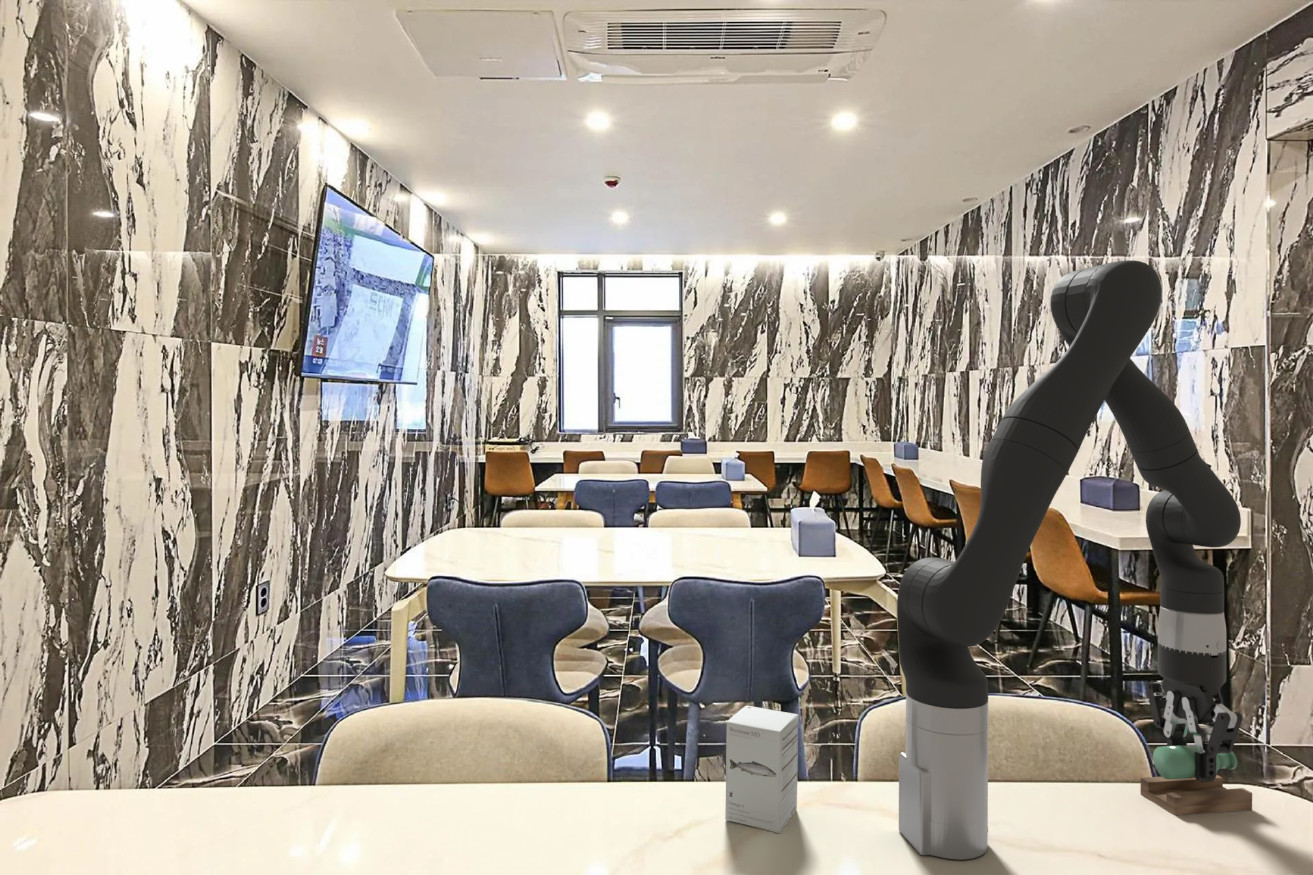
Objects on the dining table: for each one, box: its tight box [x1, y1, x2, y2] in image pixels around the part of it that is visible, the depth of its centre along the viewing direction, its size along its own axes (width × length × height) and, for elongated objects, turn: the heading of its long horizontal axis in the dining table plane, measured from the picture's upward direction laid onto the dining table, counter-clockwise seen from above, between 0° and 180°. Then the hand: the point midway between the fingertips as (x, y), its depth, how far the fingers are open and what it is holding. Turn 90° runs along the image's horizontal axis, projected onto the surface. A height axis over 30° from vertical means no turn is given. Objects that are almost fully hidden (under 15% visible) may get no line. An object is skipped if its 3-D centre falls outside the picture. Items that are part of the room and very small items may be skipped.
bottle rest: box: [1140, 774, 1253, 816], centre depth 107 cm, size 11×6×2 cm, turn 98°
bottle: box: [1152, 744, 1238, 780], centre depth 107 cm, size 9×4×4 cm, turn 97°
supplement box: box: [724, 705, 800, 834], centre depth 103 cm, size 7×7×13 cm
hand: (1190, 772), depth 107 cm, fingers closed on bottle, 4 cm apart
